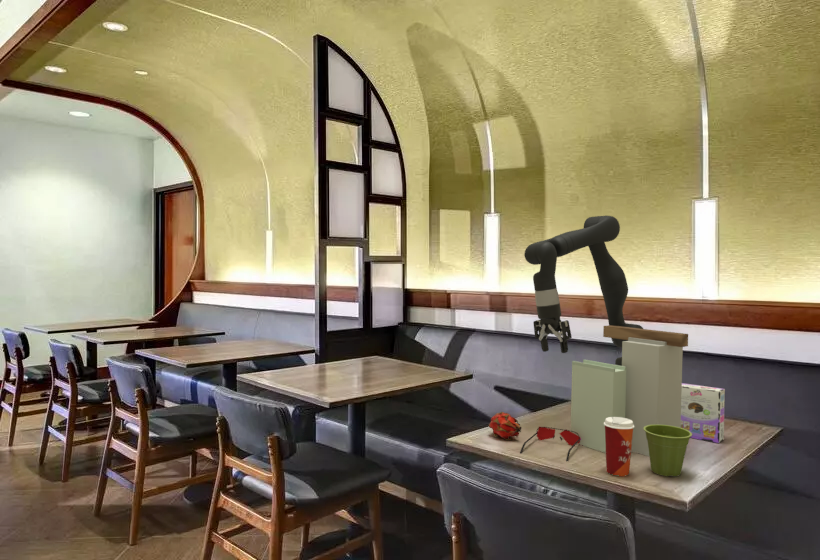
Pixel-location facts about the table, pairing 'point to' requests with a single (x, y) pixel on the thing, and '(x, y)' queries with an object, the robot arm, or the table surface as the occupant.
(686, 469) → the table surface
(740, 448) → the table surface
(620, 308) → the robot arm
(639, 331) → the walnut bar
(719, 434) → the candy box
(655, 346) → the grey stand
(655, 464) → the plant pot
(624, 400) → the sage box
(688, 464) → the table surface
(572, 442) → the glasses
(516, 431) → the dragon fruit
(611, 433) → the paper cup
